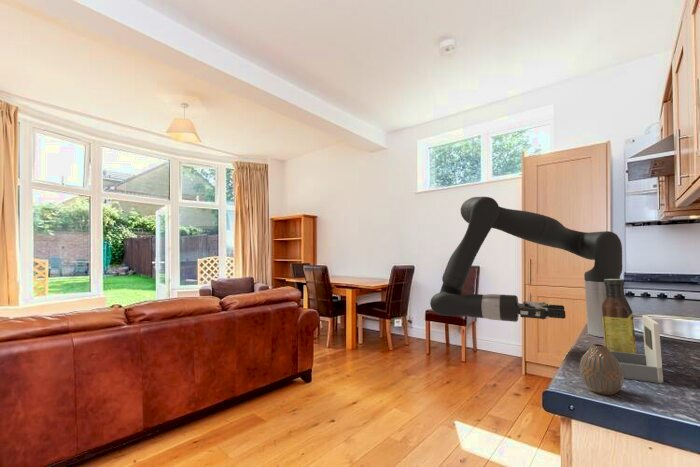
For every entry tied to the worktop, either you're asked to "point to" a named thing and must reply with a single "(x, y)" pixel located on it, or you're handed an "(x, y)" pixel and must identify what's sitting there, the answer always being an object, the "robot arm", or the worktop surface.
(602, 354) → the vase
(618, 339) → the sauce bottle
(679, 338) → the worktop surface
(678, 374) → the worktop surface
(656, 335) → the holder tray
